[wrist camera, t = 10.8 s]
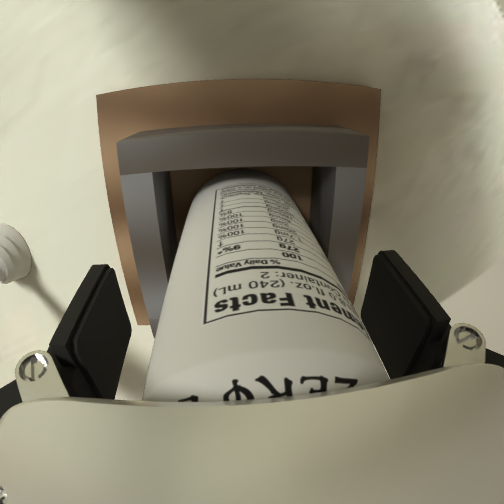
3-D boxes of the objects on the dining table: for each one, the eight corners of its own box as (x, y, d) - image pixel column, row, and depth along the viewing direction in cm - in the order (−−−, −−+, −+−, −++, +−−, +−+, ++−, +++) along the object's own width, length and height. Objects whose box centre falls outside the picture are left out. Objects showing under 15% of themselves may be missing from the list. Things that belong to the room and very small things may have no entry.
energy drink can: (170, 223, 18) (92, 487, 5) (235, 143, 16) (276, 382, 3) (247, 276, 20) (278, 523, 7) (313, 209, 18) (452, 444, 5)
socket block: (104, 94, 15) (62, 97, 10) (372, 88, 16) (418, 91, 11) (140, 314, 23) (126, 364, 18) (346, 304, 24) (368, 351, 19)
